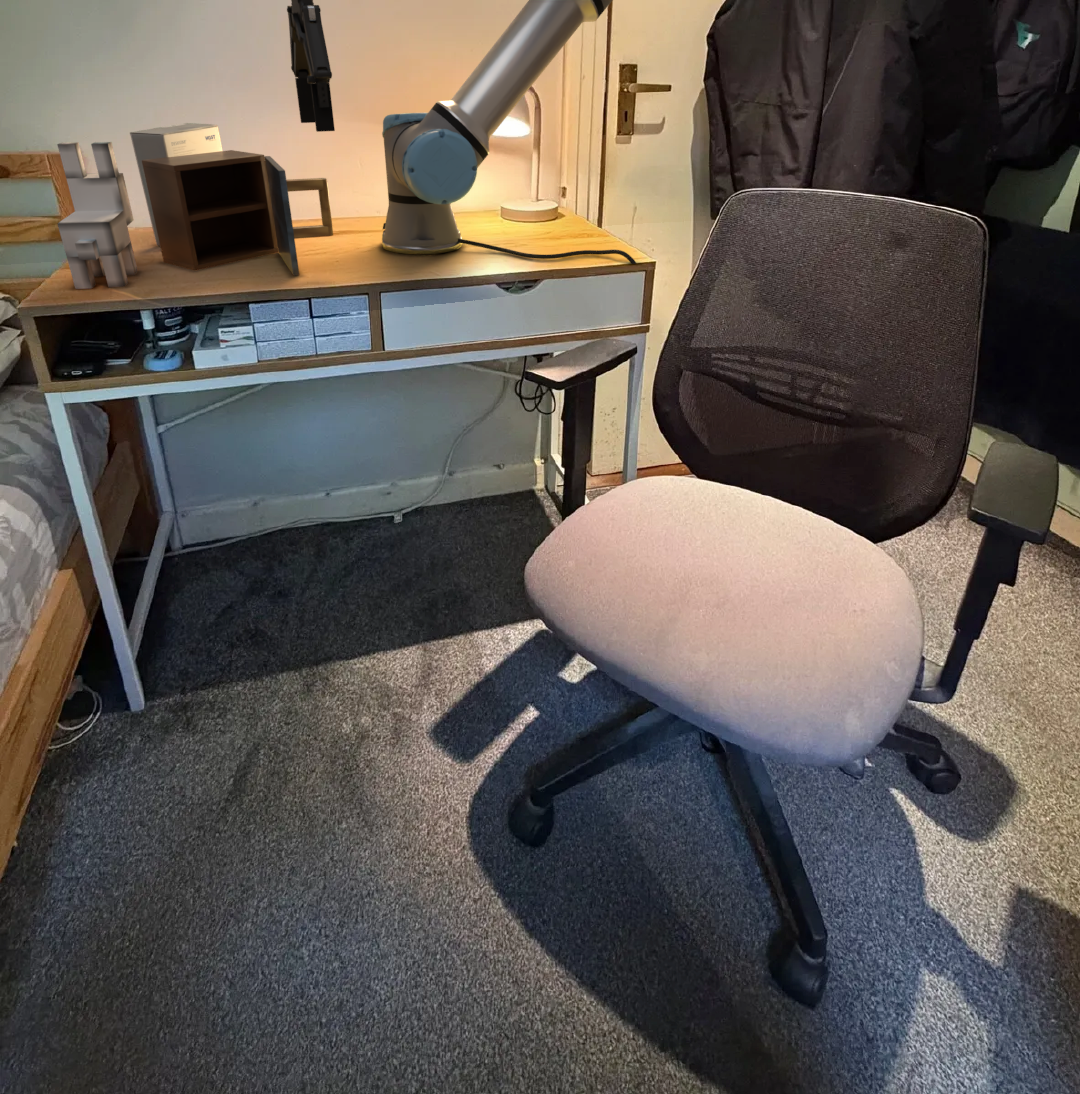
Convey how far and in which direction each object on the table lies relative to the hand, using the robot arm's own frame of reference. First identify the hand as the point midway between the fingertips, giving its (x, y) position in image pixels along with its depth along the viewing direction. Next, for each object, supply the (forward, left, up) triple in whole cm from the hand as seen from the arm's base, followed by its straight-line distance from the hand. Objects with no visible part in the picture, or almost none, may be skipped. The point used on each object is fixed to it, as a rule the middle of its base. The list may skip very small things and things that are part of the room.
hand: (317, 126), depth 136 cm
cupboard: (+22, +7, -23) cm, 32 cm away
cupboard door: (+7, 0, -22) cm, 24 cm away
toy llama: (+24, +28, -23) cm, 43 cm away
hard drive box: (+39, +1, -23) cm, 45 cm away
